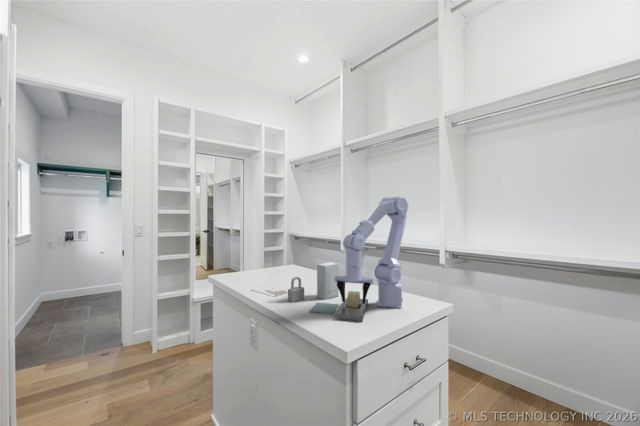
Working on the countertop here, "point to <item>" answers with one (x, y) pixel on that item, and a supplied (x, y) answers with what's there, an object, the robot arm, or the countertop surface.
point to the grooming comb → (277, 292)
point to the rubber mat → (324, 308)
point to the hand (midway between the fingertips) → (353, 302)
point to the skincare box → (327, 280)
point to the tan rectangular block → (354, 299)
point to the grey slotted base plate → (352, 311)
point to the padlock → (295, 291)
